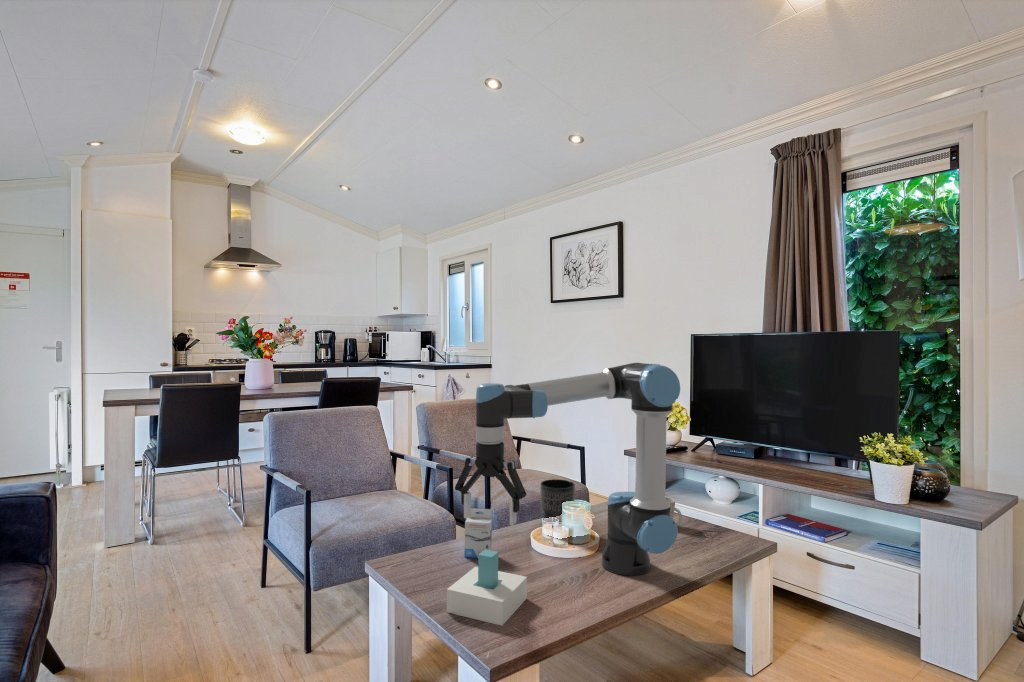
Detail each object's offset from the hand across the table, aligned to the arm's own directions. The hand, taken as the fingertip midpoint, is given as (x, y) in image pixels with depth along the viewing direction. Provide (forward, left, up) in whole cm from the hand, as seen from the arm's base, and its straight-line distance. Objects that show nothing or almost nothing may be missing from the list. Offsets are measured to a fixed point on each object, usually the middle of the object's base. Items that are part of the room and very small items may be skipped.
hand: (489, 520), depth 149 cm
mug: (-35, -85, -23) cm, 95 cm away
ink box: (+18, -29, -23) cm, 41 cm away
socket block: (0, 0, -23) cm, 23 cm away
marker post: (0, 0, -23) cm, 23 cm away
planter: (+2, -62, -23) cm, 66 cm away
